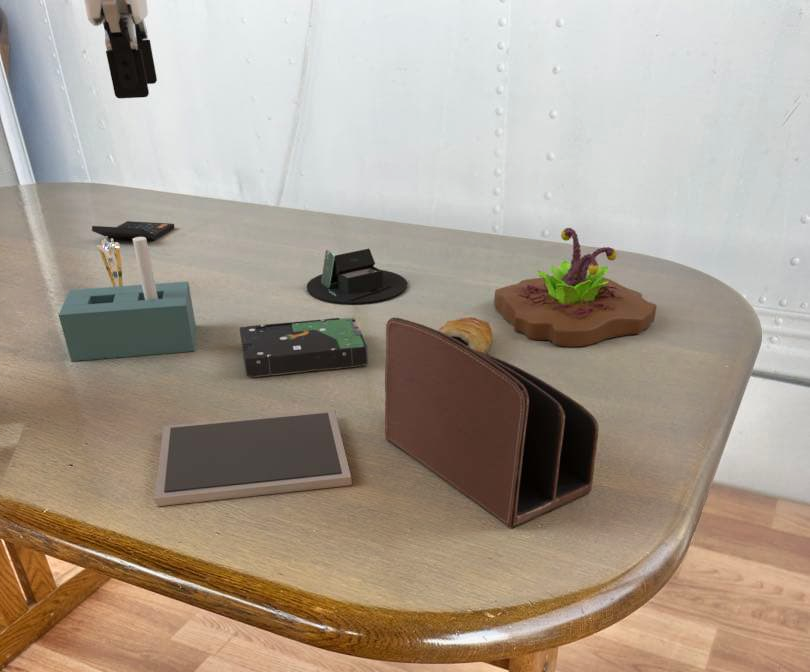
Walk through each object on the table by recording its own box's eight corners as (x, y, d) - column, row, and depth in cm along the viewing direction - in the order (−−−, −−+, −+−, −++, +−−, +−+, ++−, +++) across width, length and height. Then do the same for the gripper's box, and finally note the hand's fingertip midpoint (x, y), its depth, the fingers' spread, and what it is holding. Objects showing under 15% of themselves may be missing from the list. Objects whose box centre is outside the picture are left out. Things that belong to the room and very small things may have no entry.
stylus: (153, 343, 105) (131, 240, 97) (154, 338, 106) (133, 237, 98) (165, 342, 105) (145, 239, 97) (166, 337, 106) (146, 236, 99)
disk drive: (247, 381, 96) (370, 366, 98) (243, 359, 94) (369, 344, 96) (241, 347, 104) (355, 334, 106) (237, 326, 102) (353, 313, 105)
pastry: (453, 330, 107) (454, 302, 105) (502, 337, 105) (504, 308, 103) (429, 357, 100) (429, 328, 98) (481, 366, 98) (483, 336, 96)
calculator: (174, 228, 148) (171, 211, 146) (144, 247, 139) (140, 229, 137) (128, 225, 150) (124, 209, 148) (95, 244, 141) (90, 226, 139)
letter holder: (510, 531, 70) (522, 381, 62) (383, 440, 83) (379, 307, 75) (592, 494, 75) (614, 350, 67) (459, 413, 88) (463, 285, 80)
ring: (133, 301, 118) (121, 244, 113) (110, 304, 117) (97, 247, 112) (126, 286, 123) (114, 232, 118) (104, 289, 122) (91, 234, 117)
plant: (588, 283, 121) (597, 204, 115) (676, 327, 107) (692, 240, 100) (471, 304, 115) (474, 222, 108) (548, 355, 100) (557, 263, 94)
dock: (194, 351, 103) (186, 305, 99) (71, 361, 100) (58, 314, 97) (195, 325, 110) (188, 281, 106) (80, 334, 108) (69, 289, 104)
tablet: (156, 507, 74) (154, 496, 73) (165, 434, 85) (163, 424, 85) (352, 485, 77) (351, 475, 76) (335, 417, 88) (334, 408, 87)
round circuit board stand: (373, 264, 130) (372, 229, 126) (426, 290, 120) (426, 252, 116) (289, 282, 123) (285, 245, 120) (338, 312, 113) (335, 272, 110)
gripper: (69, -118, 80) (110, 80, 90) (33, -131, 66) (87, 105, 76) (147, -119, 80) (179, 77, 91) (128, -133, 67) (169, 101, 77)
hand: (137, 90), depth 83 cm, fingers open, 9 cm apart
